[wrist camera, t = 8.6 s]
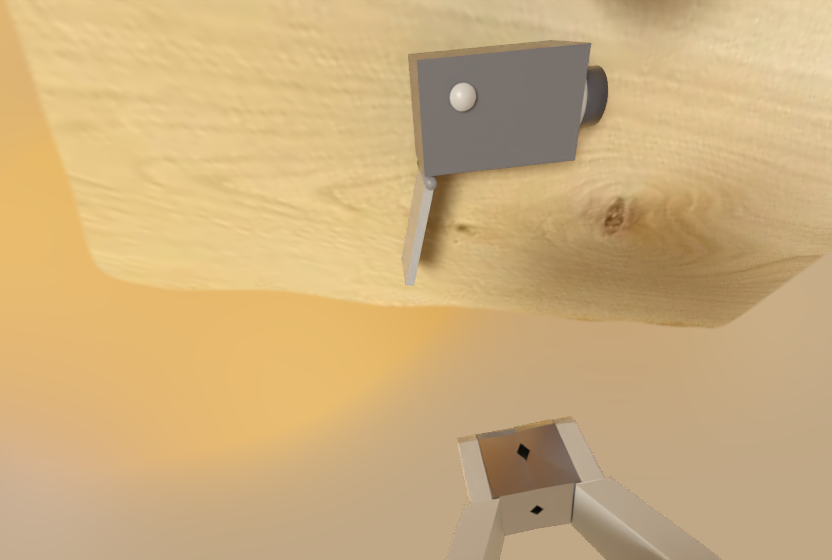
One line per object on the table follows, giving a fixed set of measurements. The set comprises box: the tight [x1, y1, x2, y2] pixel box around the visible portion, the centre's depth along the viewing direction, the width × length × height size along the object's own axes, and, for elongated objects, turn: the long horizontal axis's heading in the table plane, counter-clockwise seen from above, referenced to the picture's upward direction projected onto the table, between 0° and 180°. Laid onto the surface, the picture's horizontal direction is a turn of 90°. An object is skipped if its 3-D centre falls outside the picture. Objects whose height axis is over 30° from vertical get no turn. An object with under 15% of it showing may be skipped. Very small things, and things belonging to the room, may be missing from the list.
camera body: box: [408, 40, 608, 177], centre depth 32 cm, size 14×8×8 cm, turn 95°
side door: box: [402, 160, 437, 286], centre depth 36 cm, size 10×1×6 cm, turn 170°
